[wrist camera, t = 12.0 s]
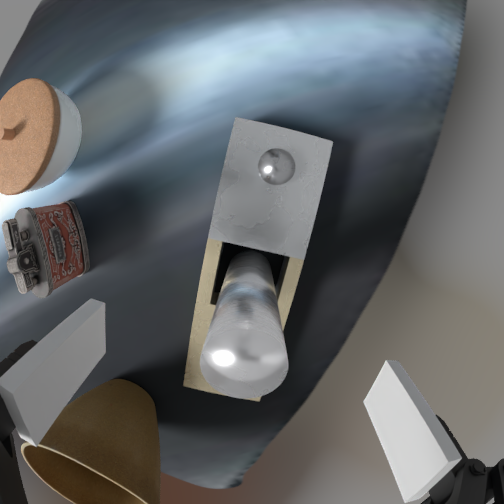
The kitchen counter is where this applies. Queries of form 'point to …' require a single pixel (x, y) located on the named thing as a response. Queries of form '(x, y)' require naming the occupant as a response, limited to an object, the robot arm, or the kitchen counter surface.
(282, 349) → the pin
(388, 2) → the kitchen counter surface
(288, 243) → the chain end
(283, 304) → the frame
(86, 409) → the plant pot
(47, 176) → the lidded jar
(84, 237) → the lighter
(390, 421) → the robot arm
